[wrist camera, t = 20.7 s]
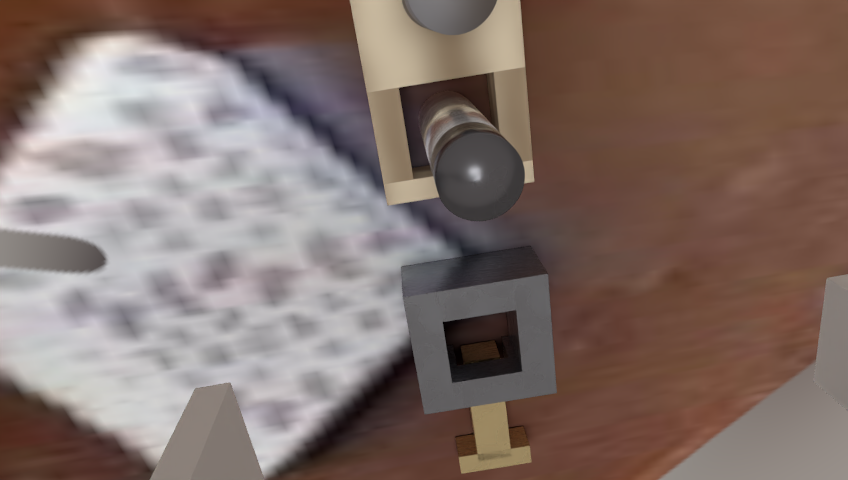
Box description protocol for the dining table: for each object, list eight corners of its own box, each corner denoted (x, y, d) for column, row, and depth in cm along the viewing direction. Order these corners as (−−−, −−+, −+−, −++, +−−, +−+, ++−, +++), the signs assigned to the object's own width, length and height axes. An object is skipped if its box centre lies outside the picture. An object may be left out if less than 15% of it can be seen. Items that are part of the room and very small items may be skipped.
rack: (387, 192, 41) (388, 267, 29) (339, -72, 34) (313, -119, 22) (524, 170, 41) (582, 236, 29) (501, -98, 34) (563, -159, 22)
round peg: (414, 95, 38) (429, 142, 24) (472, 86, 38) (521, 127, 24) (423, 152, 40) (442, 227, 26) (478, 143, 40) (528, 213, 26)
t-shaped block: (458, 453, 50) (461, 473, 48) (441, 348, 46) (443, 365, 44) (524, 442, 50) (531, 462, 48) (513, 337, 46) (520, 353, 44)
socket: (420, 374, 47) (424, 414, 42) (401, 266, 43) (402, 297, 38) (539, 355, 47) (556, 392, 42) (530, 245, 43) (547, 273, 38)
